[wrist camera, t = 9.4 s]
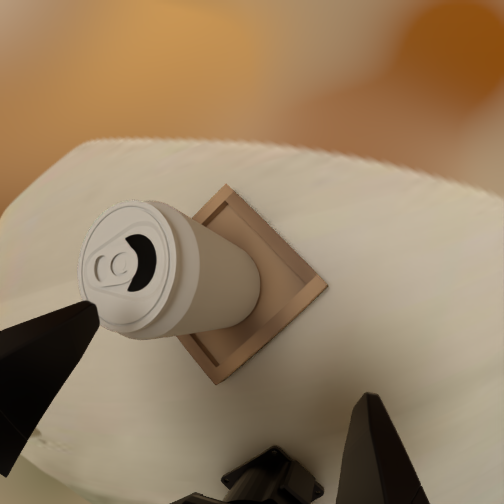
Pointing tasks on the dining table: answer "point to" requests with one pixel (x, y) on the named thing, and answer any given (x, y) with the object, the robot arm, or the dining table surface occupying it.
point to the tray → (271, 287)
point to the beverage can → (163, 273)
